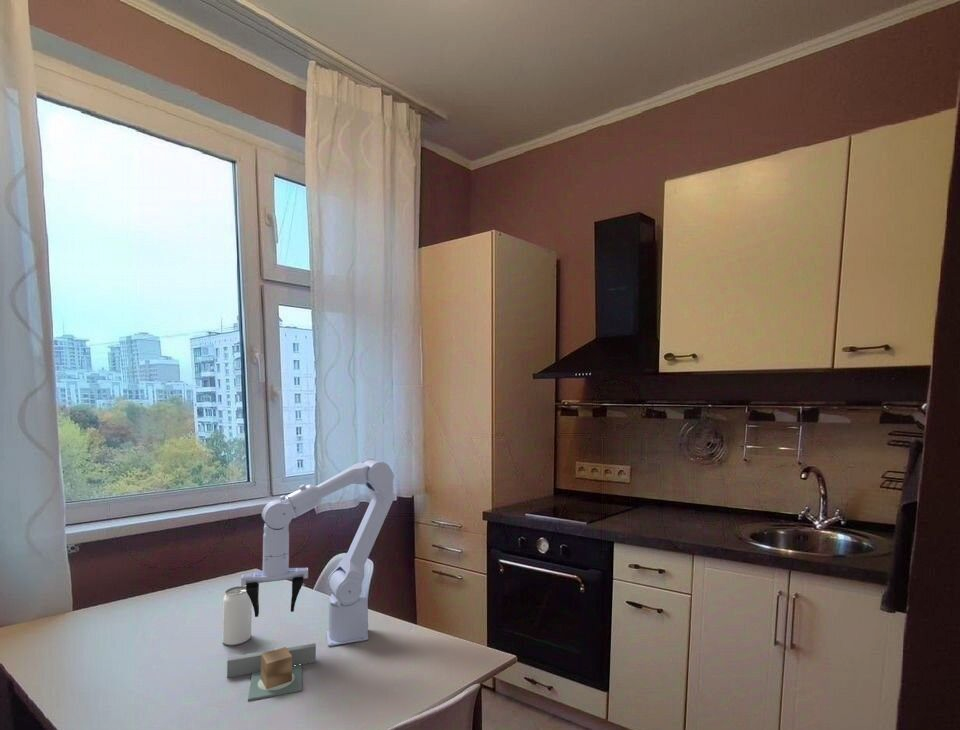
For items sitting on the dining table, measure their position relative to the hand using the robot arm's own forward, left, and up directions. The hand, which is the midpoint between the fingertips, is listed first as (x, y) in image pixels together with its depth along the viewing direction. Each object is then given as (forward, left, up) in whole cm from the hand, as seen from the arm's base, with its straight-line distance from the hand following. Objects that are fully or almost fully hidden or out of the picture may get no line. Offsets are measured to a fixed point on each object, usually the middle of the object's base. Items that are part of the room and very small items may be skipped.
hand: (274, 612), depth 118 cm
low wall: (0, +7, -9) cm, 11 cm away
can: (+9, -11, -10) cm, 17 cm away
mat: (-1, +13, -9) cm, 16 cm away
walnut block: (-1, +13, -9) cm, 16 cm away
